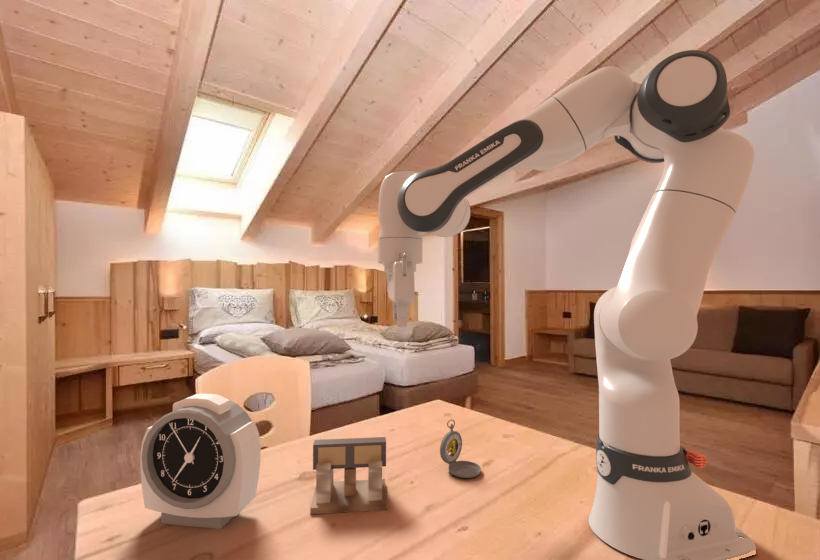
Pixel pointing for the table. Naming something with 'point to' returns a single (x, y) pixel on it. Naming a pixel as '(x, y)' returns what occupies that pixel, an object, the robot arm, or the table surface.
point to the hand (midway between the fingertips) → (400, 324)
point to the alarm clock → (200, 462)
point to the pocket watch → (457, 455)
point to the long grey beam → (349, 452)
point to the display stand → (349, 490)
